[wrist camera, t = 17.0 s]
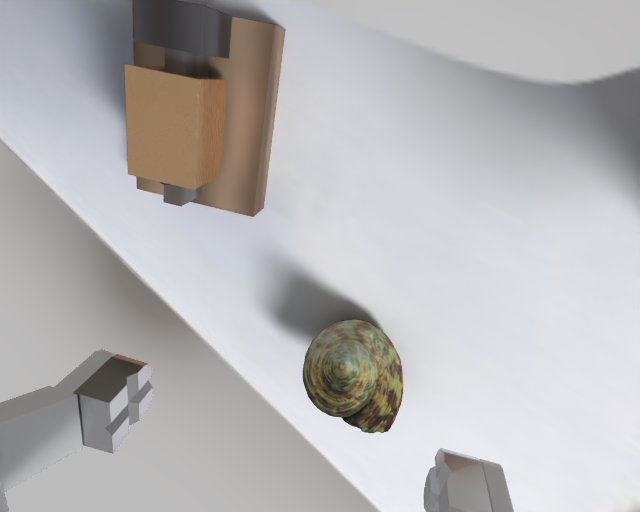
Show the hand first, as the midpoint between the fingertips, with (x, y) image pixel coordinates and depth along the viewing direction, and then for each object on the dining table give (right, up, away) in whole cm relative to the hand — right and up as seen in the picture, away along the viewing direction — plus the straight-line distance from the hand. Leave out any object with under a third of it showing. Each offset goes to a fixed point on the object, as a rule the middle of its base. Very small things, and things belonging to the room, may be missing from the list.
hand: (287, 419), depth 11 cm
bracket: (-9, +18, +27) cm, 33 cm away
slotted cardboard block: (-10, +16, +23) cm, 30 cm away
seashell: (+5, -6, +34) cm, 35 cm away
